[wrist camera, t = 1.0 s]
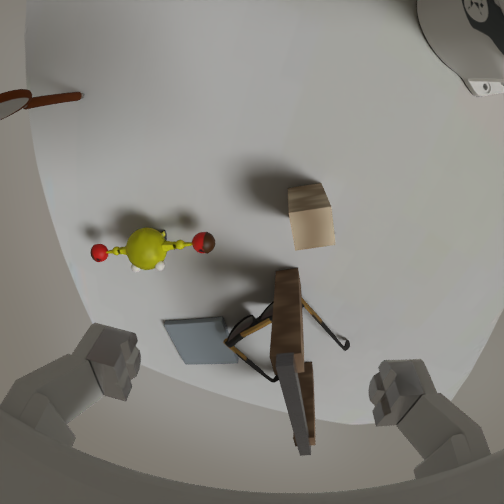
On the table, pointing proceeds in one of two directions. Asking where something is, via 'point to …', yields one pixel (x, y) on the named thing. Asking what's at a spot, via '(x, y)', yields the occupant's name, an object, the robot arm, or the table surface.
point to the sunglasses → (254, 324)
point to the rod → (293, 400)
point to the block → (310, 217)
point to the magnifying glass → (31, 100)
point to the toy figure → (152, 248)
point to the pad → (201, 340)
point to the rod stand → (292, 338)
